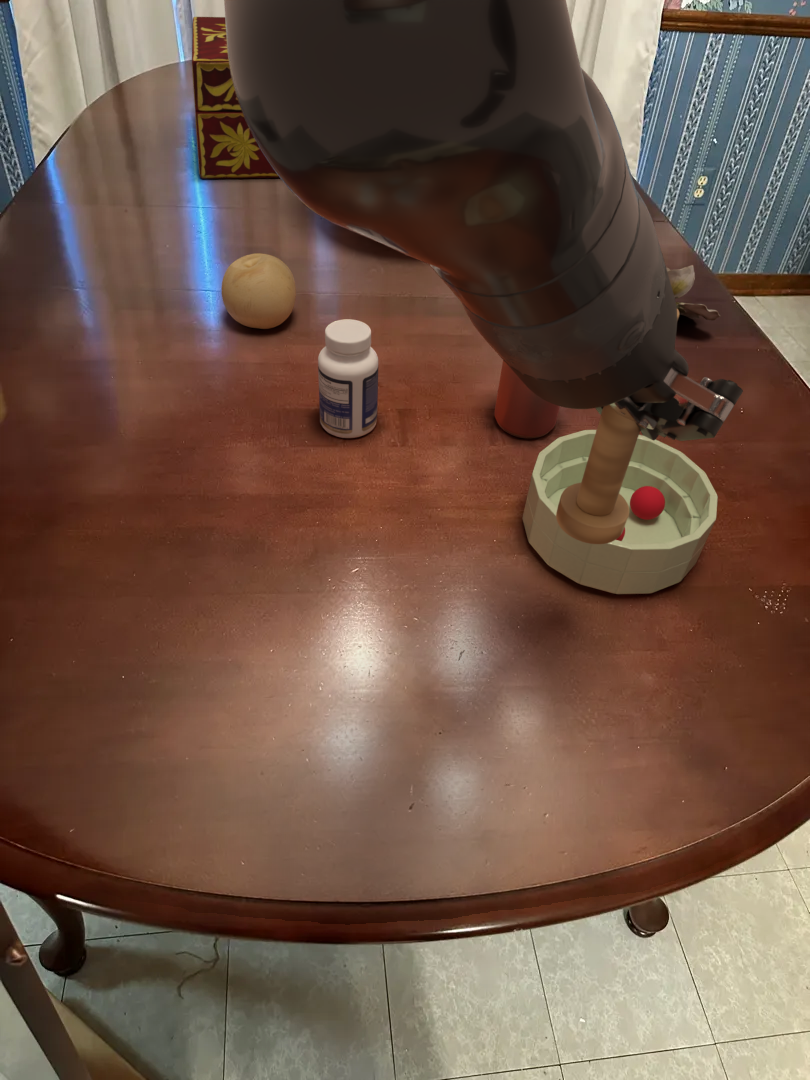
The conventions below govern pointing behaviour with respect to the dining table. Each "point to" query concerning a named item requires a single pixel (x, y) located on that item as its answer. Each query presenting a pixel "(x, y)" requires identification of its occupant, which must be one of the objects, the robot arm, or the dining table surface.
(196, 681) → the dining table surface
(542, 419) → the beverage can
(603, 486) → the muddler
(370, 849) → the dining table surface
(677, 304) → the artificial flower
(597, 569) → the bowl
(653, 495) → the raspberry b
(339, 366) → the pill bottle
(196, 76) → the decorative box
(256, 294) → the pale yellow round fruit
